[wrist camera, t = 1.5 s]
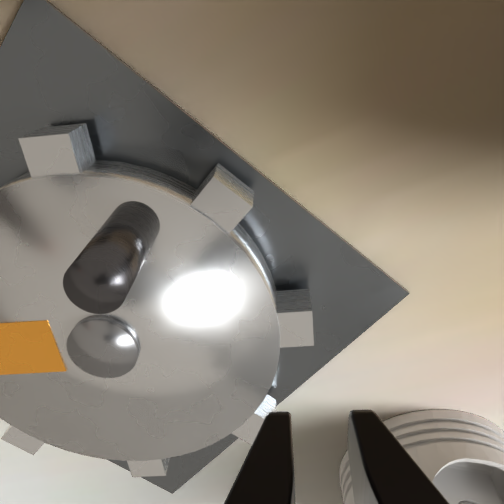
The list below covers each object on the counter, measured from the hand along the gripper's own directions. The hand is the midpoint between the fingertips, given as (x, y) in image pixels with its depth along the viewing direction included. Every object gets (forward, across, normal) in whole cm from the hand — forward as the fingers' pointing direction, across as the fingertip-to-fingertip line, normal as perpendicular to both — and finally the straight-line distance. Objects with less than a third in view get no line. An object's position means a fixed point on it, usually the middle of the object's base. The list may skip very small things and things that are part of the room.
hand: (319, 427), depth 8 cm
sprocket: (+12, +8, +6) cm, 16 cm away
